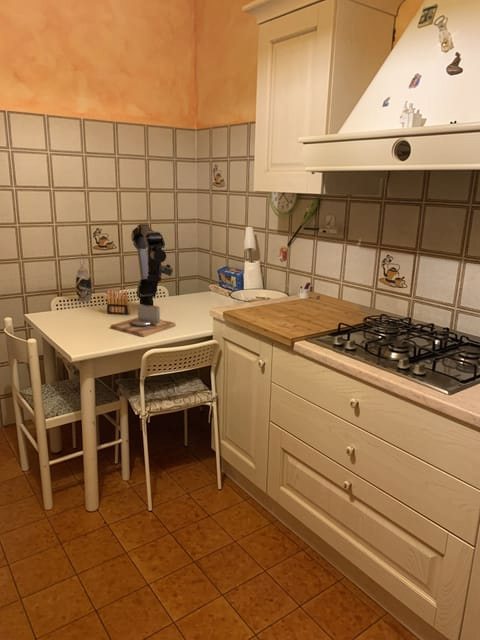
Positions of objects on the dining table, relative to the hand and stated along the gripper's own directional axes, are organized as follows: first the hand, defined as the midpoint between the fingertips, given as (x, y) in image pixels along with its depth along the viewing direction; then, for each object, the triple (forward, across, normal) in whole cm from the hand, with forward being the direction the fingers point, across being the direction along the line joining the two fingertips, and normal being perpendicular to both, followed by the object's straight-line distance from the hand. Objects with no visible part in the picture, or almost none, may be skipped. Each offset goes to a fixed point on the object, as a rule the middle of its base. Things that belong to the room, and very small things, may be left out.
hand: (155, 293), depth 230 cm
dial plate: (+12, -15, +5) cm, 20 cm away
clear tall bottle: (+11, +37, +38) cm, 55 cm away
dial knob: (+10, -16, +4) cm, 19 cm away
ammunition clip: (+12, +8, +18) cm, 23 cm away
